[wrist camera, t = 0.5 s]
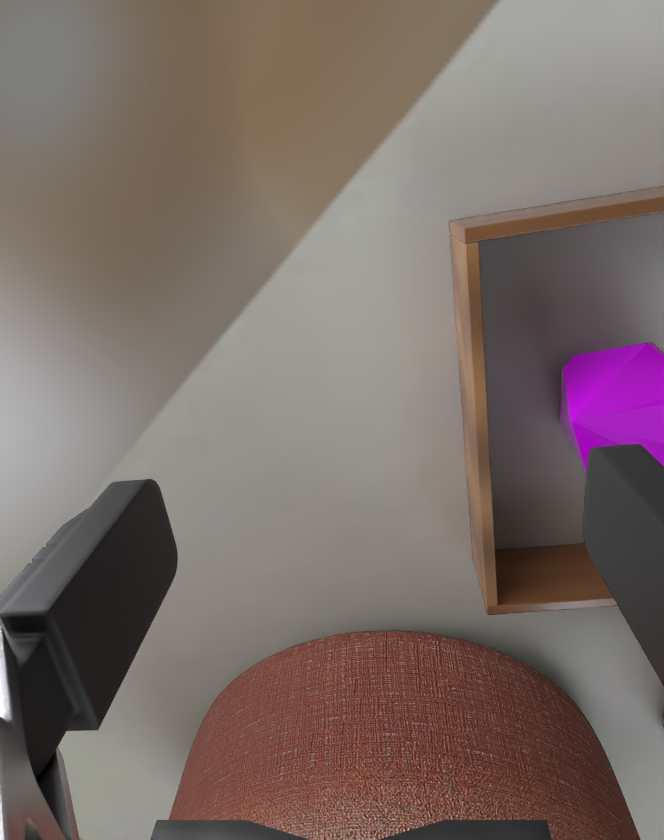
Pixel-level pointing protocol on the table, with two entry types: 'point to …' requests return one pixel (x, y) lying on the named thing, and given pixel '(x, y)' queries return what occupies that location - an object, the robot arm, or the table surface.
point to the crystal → (614, 400)
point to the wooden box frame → (496, 570)
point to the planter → (399, 744)
